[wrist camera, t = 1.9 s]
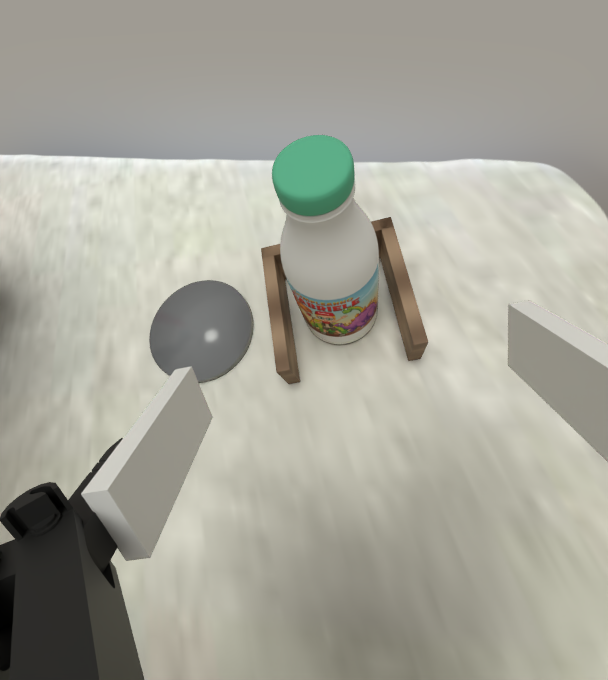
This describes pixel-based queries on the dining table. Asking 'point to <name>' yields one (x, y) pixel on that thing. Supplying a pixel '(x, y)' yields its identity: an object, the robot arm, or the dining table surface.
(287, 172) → the milk bottle
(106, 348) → the dining table surface
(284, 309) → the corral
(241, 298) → the coaster
